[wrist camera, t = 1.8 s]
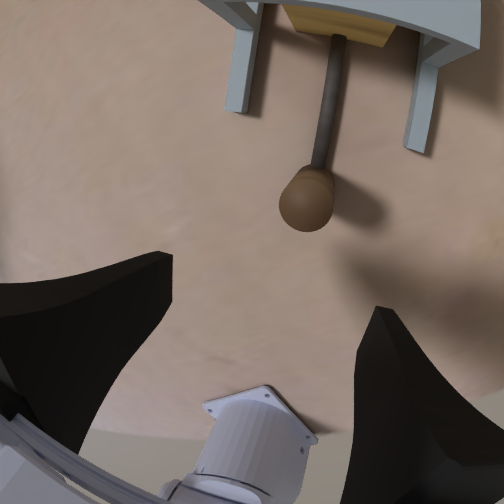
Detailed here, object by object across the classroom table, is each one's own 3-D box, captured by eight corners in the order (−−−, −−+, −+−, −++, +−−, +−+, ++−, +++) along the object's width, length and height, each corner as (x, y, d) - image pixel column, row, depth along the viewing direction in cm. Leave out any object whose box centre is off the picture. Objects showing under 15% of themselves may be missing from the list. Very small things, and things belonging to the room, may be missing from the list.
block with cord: (306, -36, 13) (293, -76, 8) (389, -21, 12) (401, -59, 7) (269, 194, 19) (247, 219, 15) (350, 213, 18) (354, 244, 14)
